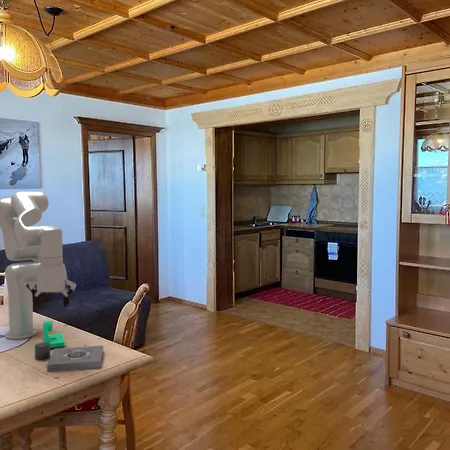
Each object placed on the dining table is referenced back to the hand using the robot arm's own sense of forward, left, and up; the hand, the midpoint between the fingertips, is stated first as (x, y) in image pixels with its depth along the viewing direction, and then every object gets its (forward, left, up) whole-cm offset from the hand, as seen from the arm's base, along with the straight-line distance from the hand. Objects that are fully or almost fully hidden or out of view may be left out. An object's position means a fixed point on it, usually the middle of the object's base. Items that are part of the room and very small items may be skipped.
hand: (53, 306), depth 165 cm
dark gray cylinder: (-2, -4, -20) cm, 21 cm away
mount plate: (+4, +9, -20) cm, 22 cm away
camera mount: (-16, -3, -21) cm, 26 cm away
